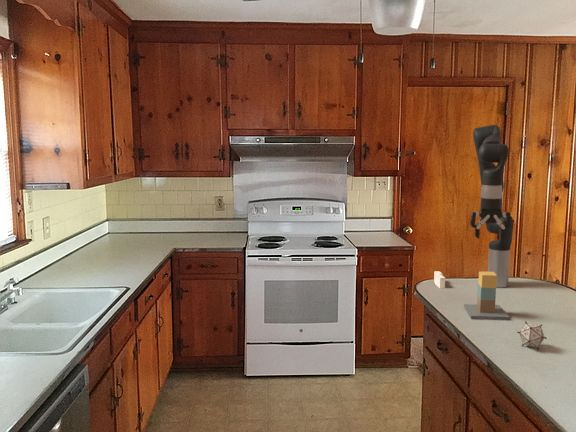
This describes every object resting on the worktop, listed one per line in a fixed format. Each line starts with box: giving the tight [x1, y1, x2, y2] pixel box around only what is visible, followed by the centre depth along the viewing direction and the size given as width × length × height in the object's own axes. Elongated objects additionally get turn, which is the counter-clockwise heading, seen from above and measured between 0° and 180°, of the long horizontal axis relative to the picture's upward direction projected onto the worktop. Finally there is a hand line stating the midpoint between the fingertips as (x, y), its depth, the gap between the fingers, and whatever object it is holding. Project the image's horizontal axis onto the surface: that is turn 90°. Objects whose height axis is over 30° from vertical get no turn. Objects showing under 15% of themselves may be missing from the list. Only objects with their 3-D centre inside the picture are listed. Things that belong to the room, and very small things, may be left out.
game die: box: [516, 320, 548, 351], centre depth 175 cm, size 9×8×10 cm
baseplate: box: [463, 296, 510, 321], centre depth 207 cm, size 14×14×6 cm
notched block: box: [433, 270, 446, 289], centre depth 247 cm, size 15×11×6 cm
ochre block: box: [477, 271, 498, 289], centre depth 206 cm, size 6×6×5 cm
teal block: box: [476, 283, 497, 301], centre depth 207 cm, size 6×6×5 cm
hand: (489, 238), depth 203 cm, fingers open, 8 cm apart
